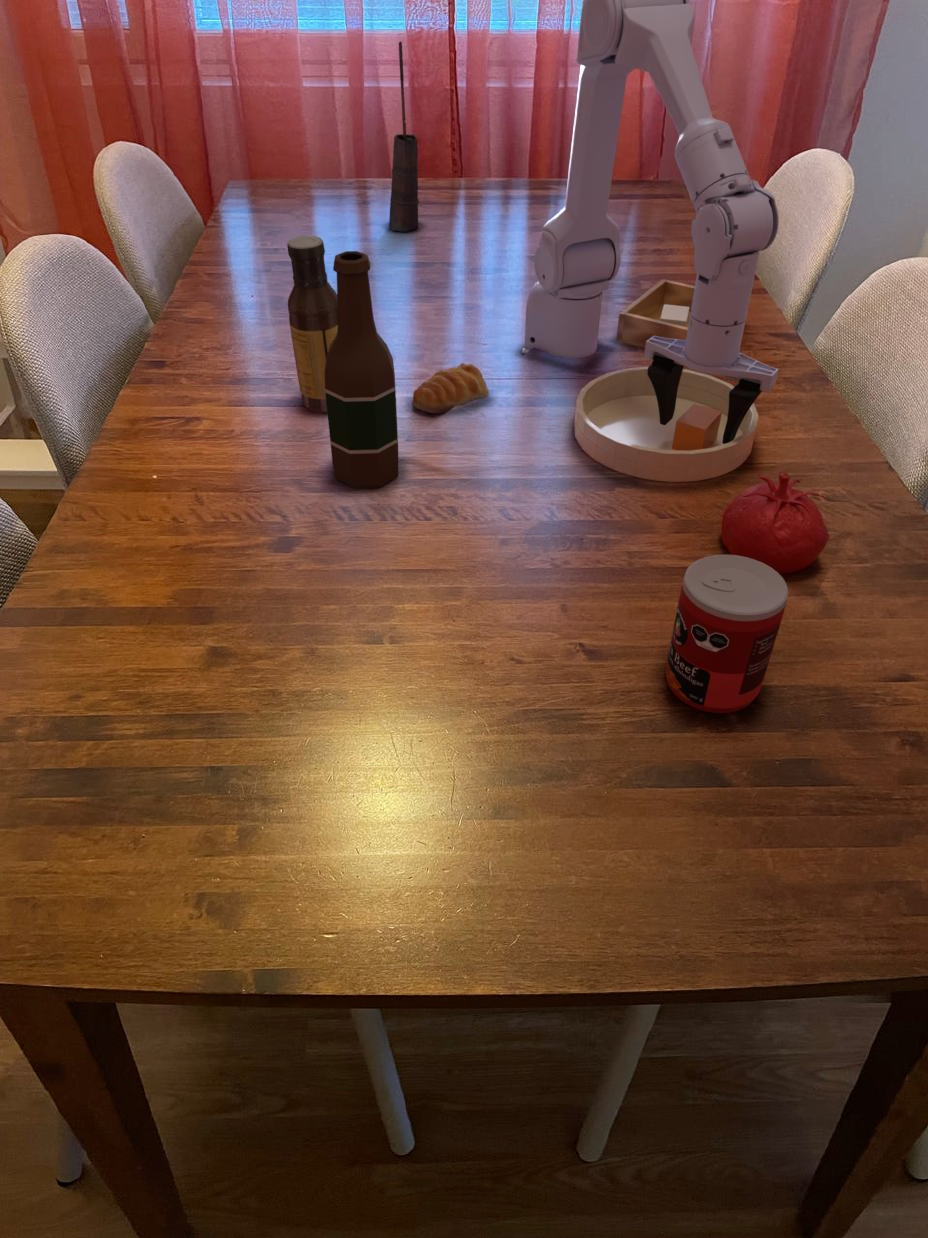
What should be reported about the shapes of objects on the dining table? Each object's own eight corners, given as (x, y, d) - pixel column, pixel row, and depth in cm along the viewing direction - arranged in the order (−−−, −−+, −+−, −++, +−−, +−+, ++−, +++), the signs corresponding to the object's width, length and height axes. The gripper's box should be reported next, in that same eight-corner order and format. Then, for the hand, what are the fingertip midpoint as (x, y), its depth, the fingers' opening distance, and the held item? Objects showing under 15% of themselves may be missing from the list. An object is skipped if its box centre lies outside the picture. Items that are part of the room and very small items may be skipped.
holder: (615, 341, 131) (619, 312, 129) (658, 305, 141) (662, 278, 138) (701, 363, 126) (706, 334, 124) (740, 325, 136) (745, 297, 133)
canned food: (654, 655, 83) (673, 555, 76) (743, 650, 84) (770, 550, 77) (676, 719, 77) (699, 617, 70) (771, 713, 78) (803, 612, 71)
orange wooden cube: (671, 448, 108) (676, 421, 106) (688, 430, 111) (693, 403, 109) (700, 457, 106) (705, 429, 104) (716, 438, 110) (722, 411, 107)
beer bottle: (412, 460, 108) (404, 246, 92) (385, 496, 102) (372, 275, 86) (349, 448, 110) (331, 237, 94) (320, 483, 104) (295, 264, 88)
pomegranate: (762, 599, 89) (784, 518, 83) (695, 543, 96) (712, 464, 90) (841, 570, 93) (867, 489, 86) (771, 517, 99) (792, 439, 93)
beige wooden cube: (656, 342, 130) (660, 318, 128) (660, 328, 133) (664, 303, 131) (682, 345, 129) (686, 321, 127) (685, 330, 133) (689, 306, 130)
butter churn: (432, 238, 162) (429, 50, 144) (377, 238, 162) (366, 50, 144) (434, 220, 169) (431, 39, 151) (381, 219, 169) (372, 38, 151)
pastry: (433, 423, 114) (432, 394, 112) (400, 402, 118) (398, 374, 116) (492, 400, 118) (493, 372, 116) (459, 381, 122) (459, 353, 120)
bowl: (542, 454, 109) (544, 419, 106) (619, 385, 122) (623, 352, 119) (710, 509, 100) (718, 473, 97) (774, 428, 113) (782, 394, 110)
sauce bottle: (344, 387, 121) (330, 227, 108) (357, 409, 117) (344, 246, 104) (294, 395, 119) (274, 234, 106) (306, 418, 115) (286, 253, 102)
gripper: (799, 318, 98) (771, 434, 107) (671, 287, 104) (654, 399, 113) (774, 342, 94) (747, 461, 103) (642, 308, 100) (627, 423, 109)
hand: (696, 430), depth 108 cm, fingers open, 7 cm apart
